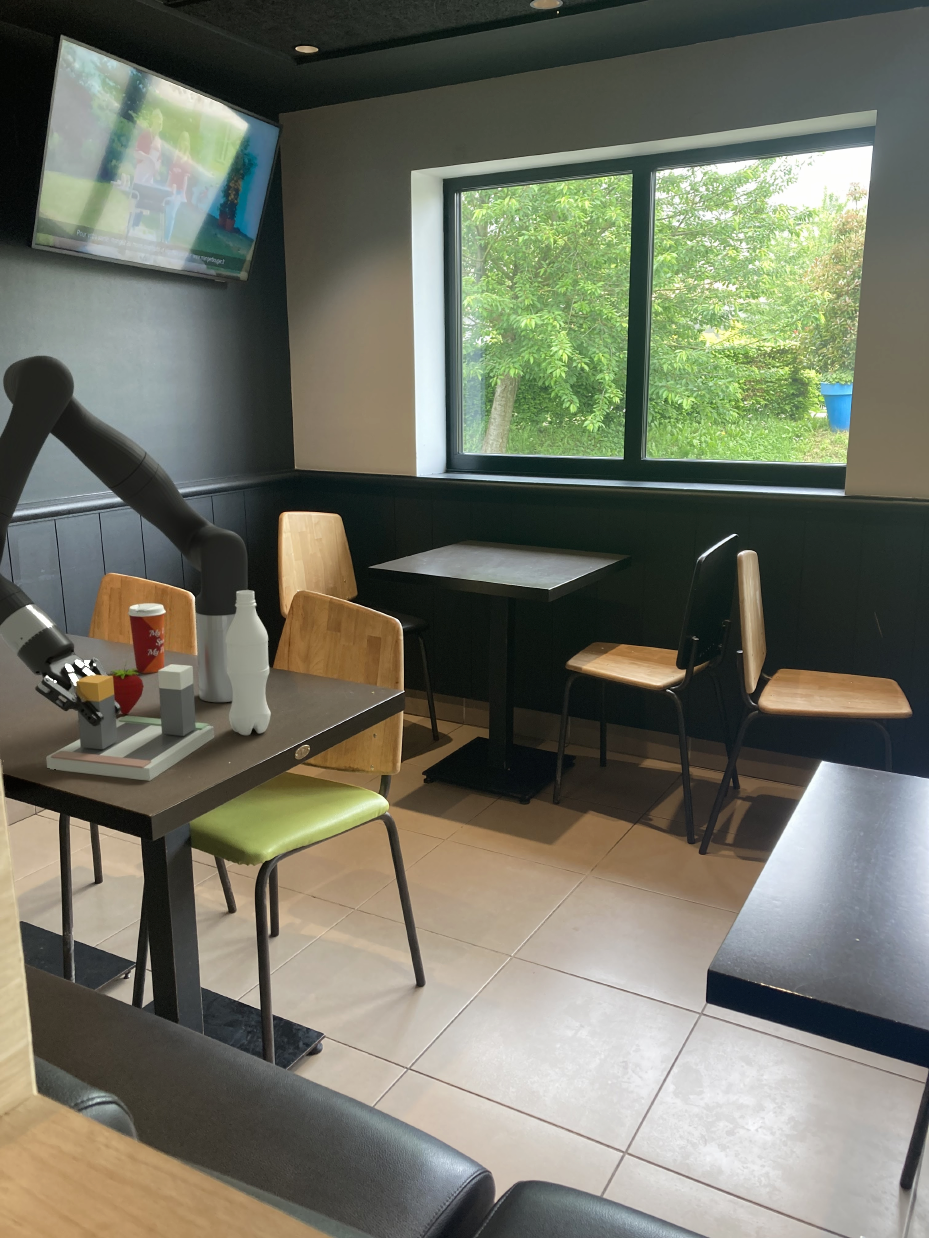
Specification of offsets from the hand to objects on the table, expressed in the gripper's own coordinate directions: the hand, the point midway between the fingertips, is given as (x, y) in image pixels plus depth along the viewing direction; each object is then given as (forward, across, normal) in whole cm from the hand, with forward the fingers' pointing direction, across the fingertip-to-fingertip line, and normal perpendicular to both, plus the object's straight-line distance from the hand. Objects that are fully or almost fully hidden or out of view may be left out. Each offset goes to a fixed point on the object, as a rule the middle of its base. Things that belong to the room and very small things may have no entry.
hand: (108, 717), depth 149 cm
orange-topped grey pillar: (+2, 0, +5) cm, 5 cm away
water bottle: (+16, +18, -6) cm, 25 cm away
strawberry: (-2, +20, +13) cm, 24 cm away
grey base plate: (+6, +4, +4) cm, 8 cm away
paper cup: (-11, +48, +21) cm, 54 cm away
